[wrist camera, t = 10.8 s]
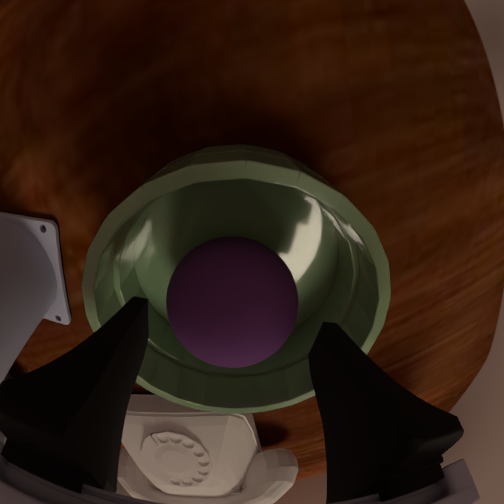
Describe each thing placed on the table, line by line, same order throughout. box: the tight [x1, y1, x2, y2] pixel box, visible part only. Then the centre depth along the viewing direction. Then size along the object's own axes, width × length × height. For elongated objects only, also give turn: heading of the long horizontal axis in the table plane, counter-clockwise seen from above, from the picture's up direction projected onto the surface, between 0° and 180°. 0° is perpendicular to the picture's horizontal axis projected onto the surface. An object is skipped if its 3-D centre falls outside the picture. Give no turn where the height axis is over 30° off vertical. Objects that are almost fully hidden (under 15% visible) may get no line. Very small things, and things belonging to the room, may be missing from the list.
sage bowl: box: [82, 144, 391, 414], centre depth 14 cm, size 13×13×6 cm
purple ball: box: [166, 236, 298, 368], centre depth 13 cm, size 6×6×6 cm
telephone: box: [117, 394, 298, 504], centre depth 21 cm, size 16×20×9 cm
